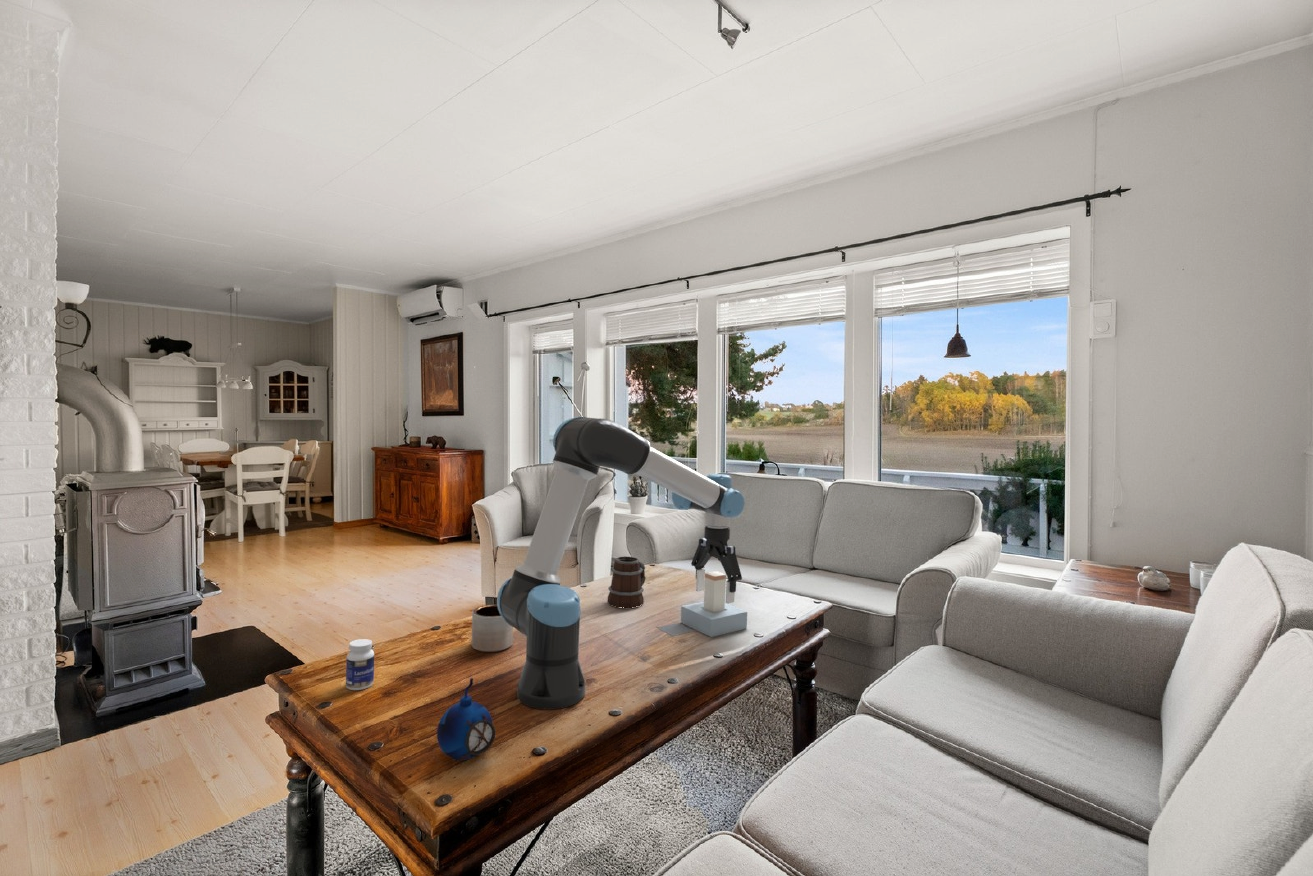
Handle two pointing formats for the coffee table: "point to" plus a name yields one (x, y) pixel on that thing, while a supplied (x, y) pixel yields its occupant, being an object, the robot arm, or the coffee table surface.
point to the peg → (714, 592)
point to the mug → (627, 583)
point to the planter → (490, 630)
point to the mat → (675, 629)
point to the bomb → (465, 729)
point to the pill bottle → (360, 665)
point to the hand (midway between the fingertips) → (714, 596)
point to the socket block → (713, 619)
